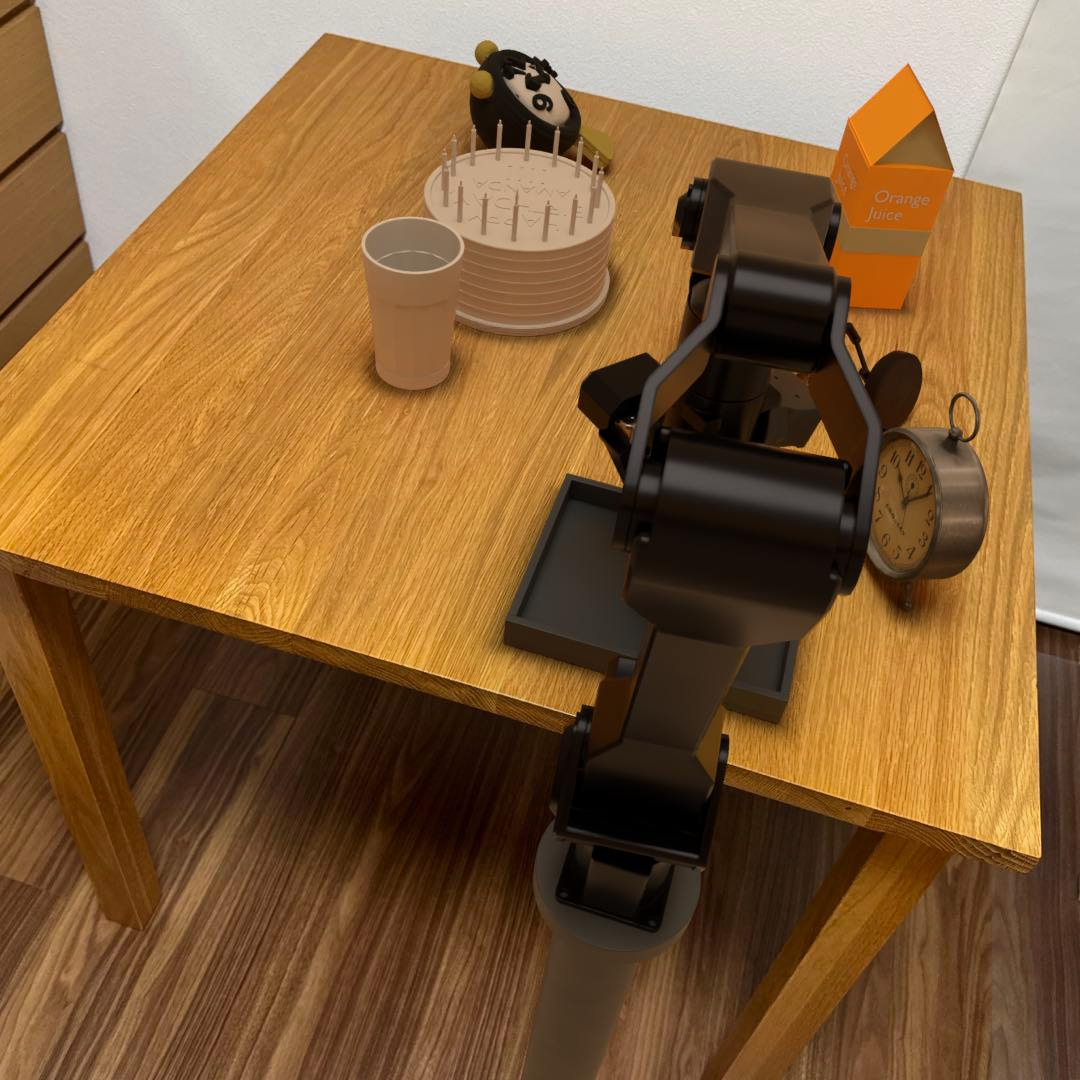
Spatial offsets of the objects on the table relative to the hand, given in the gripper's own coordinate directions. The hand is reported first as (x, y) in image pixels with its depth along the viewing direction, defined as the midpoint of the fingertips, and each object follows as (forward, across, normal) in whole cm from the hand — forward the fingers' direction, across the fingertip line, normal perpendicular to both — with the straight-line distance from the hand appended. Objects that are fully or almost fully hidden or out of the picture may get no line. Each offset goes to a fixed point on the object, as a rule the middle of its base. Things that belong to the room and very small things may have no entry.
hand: (675, 550), depth 77 cm
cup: (+6, +32, +3) cm, 32 cm away
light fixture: (+6, +14, -25) cm, 29 cm away
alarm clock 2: (+6, -6, -18) cm, 20 cm away
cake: (+6, +39, -12) cm, 41 cm away
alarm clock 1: (+6, +57, -26) cm, 62 cm away
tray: (+6, 0, 0) cm, 6 cm away
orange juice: (+6, +23, -42) cm, 48 cm away
